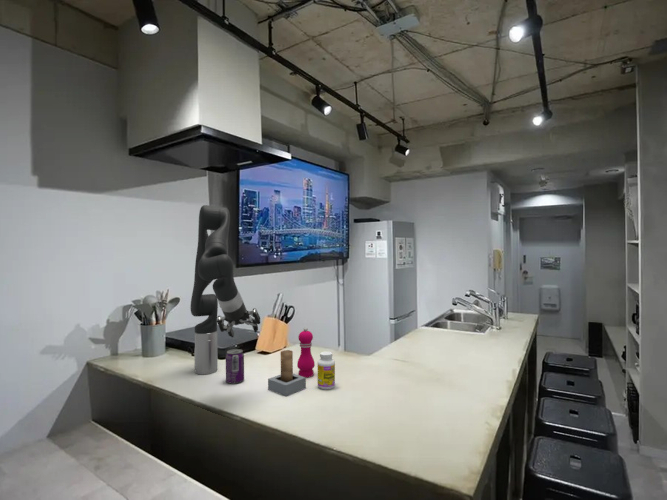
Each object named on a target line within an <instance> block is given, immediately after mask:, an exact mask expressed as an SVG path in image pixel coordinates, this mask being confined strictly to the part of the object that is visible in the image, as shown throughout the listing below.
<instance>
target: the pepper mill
mask: <svg viewBox="0 0 667 500" xmlns="http://www.w3.org/2000/svg"><path fill="white" fill-rule="evenodd" d="M312 340H314V335H313V333H312V332H311V331H309V330H308V327H304V328H303V330H302V331H301V332H299V334H298V341H299V347H300V354H299V355H300V356H299V357H298V360H297V362H296V363H297V369H298V375H299V376H302V377H306V379H308V378H311V377H313V376H314V374H315V373H314V367H315V360H314V357H313V355H312V350H311V349H312V348H311V347H313V345H312V344H313V343H312Z"/></svg>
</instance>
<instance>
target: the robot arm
mask: <svg viewBox="0 0 667 500" xmlns="http://www.w3.org/2000/svg"><path fill="white" fill-rule="evenodd" d="M230 223H231V214H230V209H228V207H223V206H217V205H209V204H204V205H201V207H200V209H199V214H198V232H197V233H198V235H197V237H198V238H197V249H196V256H195V263H194V264H195V265H194V266H195V267H194V281H193V289H192V294H191V300H190V314H191V315H192V317H195V318H196V317H207V316H208V317H207V318H206V319H204V320H203V321H201V322H199V323H197V324H196V325H194V349H193V350H194V351H193V352H194V356H193V357H194V372H195V374H197V375H210V374H214V373H216V372H218V369H219V368H218V364H219V363H218V361H219V360H218V359H219V358H218V328H219V330H220V332H221V333H222V332H227V334H228V336H229V337H231V338H235V331H234V330H233V328H234V326H239V325H244V324H246V325H248V326H249V325H250V326H252V329H253V332H254V333H255V334H256V333H257V332H258V331H259V326H258V325H261V316H260V314H259V312H258V310H257V308H255V307H254V308H252V310H250V311H249V310H247V307H246V305H245V303H244V300H243V297H242V296H241V293H240V291H239V290H238V287H237V285H236V282H235V278H234V261H233V260H232V258H231V257H230V256H229V255H228V245H227V244H228V238H229V237H228V236H229V231H230V225H231V224H230ZM208 231H213V232H211V233H210V234H209V233H208ZM212 282H213V283H212ZM211 283H212V289H213V292H214V293H208V294H203V293H204V292H205V290H206V289H207V287H208V286H209V285H210V284H211ZM218 306H219V307H220V308H221V311H222V313H223V315H224V316H221V315H218V310H219V309H218V308H219V307H218ZM224 322H227V324H226V325H225V323H224Z"/></svg>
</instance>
